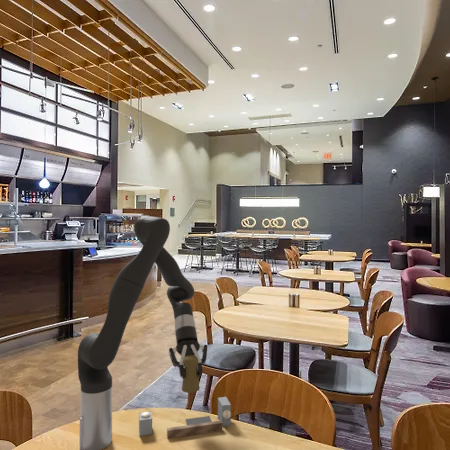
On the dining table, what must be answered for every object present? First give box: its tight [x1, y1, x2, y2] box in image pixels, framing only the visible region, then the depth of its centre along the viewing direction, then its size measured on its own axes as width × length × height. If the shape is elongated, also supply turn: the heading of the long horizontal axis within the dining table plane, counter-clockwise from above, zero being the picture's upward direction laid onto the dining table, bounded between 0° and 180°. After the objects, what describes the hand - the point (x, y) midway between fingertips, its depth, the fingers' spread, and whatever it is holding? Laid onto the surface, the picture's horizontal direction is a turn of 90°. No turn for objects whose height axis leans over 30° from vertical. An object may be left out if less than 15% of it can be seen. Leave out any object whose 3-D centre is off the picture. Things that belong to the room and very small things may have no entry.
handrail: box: [166, 420, 224, 439], centre depth 120 cm, size 18×2×2 cm, turn 105°
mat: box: [185, 415, 213, 425], centre depth 125 cm, size 8×8×1 cm
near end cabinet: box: [138, 410, 153, 437], centre depth 121 cm, size 4×5×6 cm
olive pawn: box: [181, 355, 200, 394], centre depth 124 cm, size 6×6×11 cm
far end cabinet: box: [217, 396, 232, 427], centre depth 126 cm, size 3×7×7 cm, turn 15°
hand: (191, 376), depth 123 cm, fingers closed on olive pawn, 5 cm apart
